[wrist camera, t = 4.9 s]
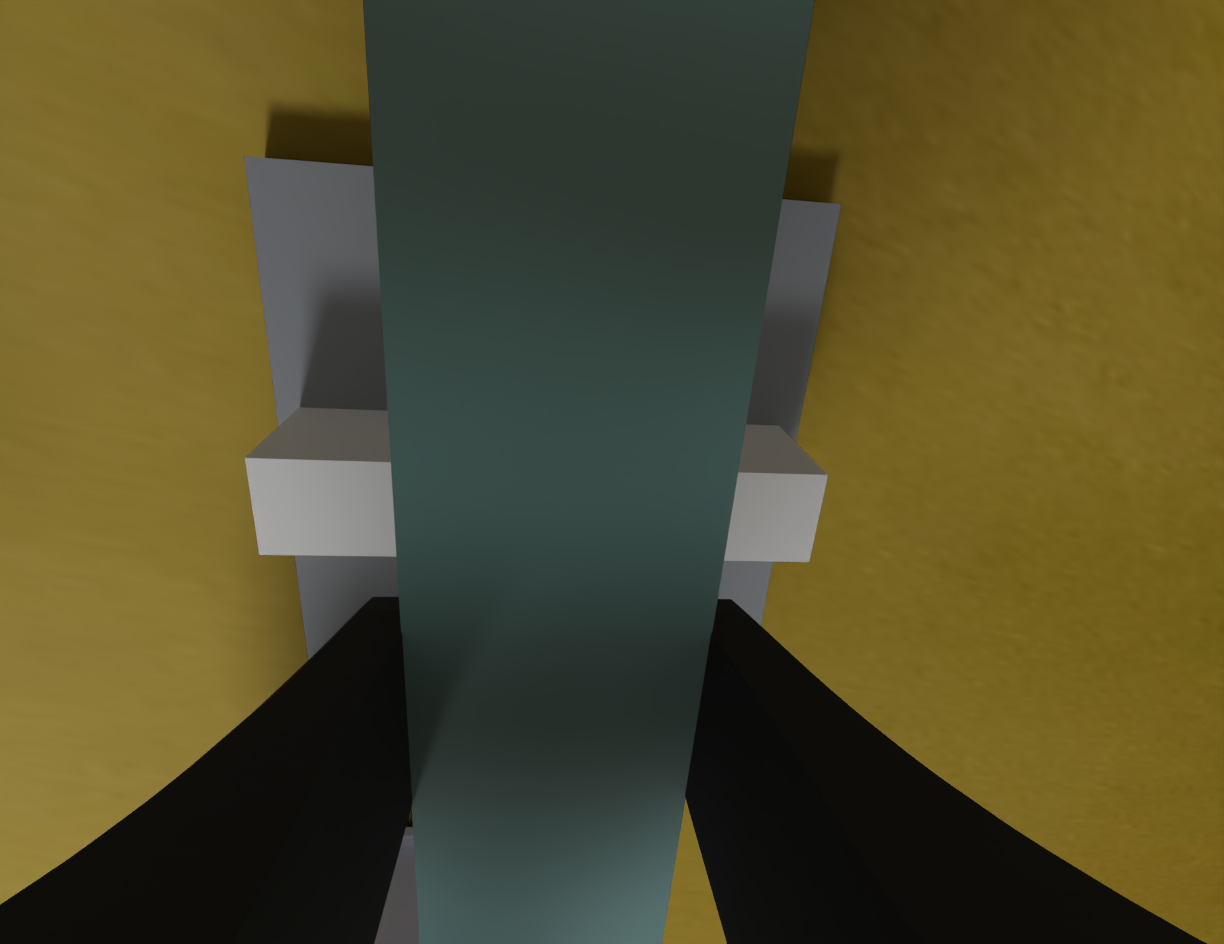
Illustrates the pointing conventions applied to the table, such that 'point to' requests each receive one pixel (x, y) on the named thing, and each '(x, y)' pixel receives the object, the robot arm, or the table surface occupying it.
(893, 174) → the table surface
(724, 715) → the robot arm
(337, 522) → the stand
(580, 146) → the teal bar
